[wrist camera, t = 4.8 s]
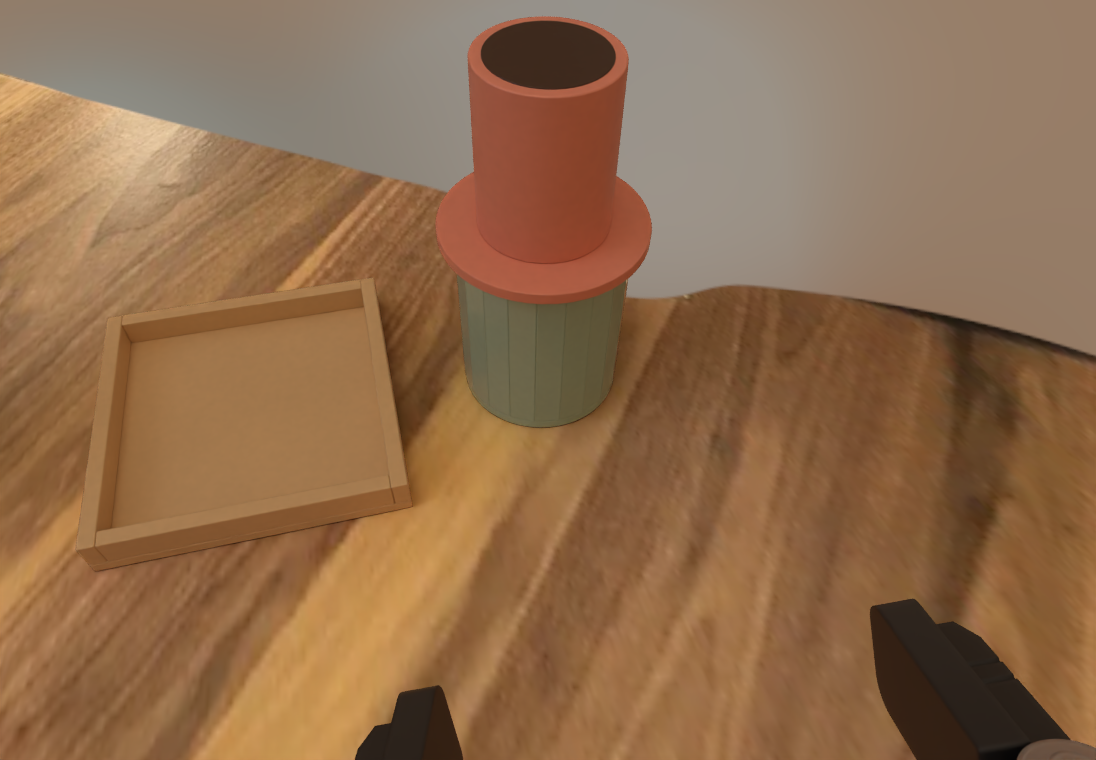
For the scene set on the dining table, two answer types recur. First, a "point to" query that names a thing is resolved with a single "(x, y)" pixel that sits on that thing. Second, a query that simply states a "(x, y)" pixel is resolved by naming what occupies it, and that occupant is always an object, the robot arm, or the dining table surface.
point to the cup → (540, 354)
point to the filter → (545, 167)
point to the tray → (240, 424)
